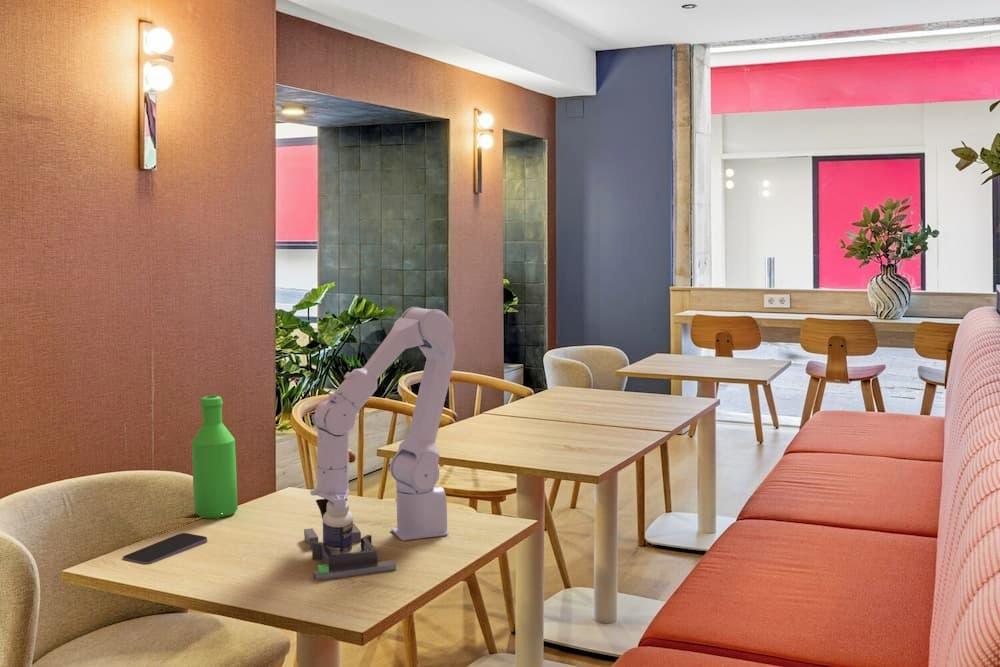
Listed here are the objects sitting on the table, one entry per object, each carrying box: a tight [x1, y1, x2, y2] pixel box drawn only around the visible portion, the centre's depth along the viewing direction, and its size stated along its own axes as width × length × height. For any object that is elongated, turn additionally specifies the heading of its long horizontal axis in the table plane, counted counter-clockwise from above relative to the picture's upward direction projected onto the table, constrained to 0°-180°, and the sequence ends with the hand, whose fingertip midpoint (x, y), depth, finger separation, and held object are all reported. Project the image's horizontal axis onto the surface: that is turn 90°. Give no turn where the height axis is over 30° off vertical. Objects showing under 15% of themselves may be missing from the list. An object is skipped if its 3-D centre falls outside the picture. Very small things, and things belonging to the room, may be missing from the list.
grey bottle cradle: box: [311, 534, 397, 582], centre depth 174 cm, size 14×12×3 cm
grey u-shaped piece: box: [303, 523, 362, 549], centre depth 187 cm, size 10×6×2 cm, turn 111°
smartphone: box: [122, 532, 208, 565], centre depth 183 cm, size 7×1×15 cm
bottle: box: [191, 395, 239, 520], centre depth 205 cm, size 9×9×25 cm
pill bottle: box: [322, 499, 354, 555], centre depth 178 cm, size 5×5×10 cm
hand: (332, 537), depth 182 cm, fingers closed, pressing on pill bottle
